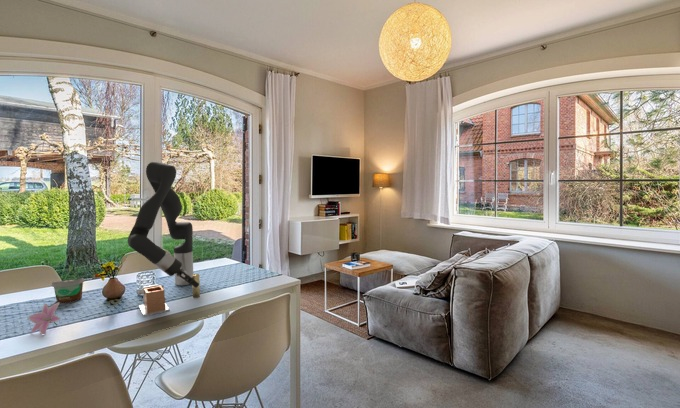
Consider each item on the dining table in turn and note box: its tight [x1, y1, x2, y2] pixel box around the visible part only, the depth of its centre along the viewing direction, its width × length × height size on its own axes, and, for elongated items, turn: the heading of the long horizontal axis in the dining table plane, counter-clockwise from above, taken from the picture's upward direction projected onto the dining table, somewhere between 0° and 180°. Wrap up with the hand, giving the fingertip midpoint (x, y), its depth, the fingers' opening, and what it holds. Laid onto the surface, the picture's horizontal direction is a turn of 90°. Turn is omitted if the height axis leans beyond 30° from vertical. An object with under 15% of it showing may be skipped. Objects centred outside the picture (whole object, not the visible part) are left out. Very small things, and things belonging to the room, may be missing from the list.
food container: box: [51, 277, 85, 304], centre depth 161 cm, size 12×6×10 cm, turn 117°
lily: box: [27, 302, 61, 335], centre depth 132 cm, size 12×12×10 cm
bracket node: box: [137, 283, 171, 317], centre depth 152 cm, size 13×10×10 cm
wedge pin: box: [191, 273, 201, 299], centre depth 167 cm, size 3×3×11 cm
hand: (195, 283), depth 166 cm, fingers open, 8 cm apart
